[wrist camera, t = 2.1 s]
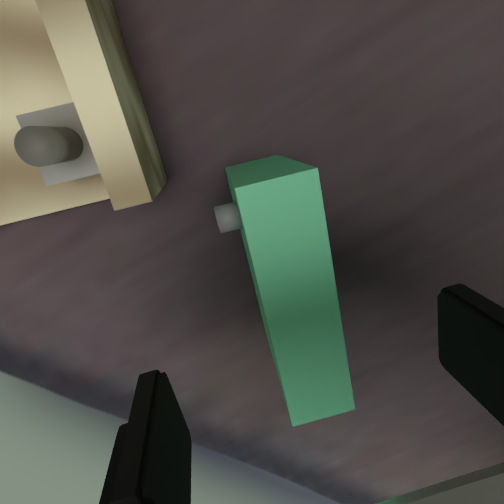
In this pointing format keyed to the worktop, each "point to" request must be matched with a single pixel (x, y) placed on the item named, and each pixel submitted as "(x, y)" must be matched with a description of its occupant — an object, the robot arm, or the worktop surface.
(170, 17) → the worktop surface
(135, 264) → the worktop surface
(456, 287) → the robot arm
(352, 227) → the worktop surface
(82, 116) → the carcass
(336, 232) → the worktop surface
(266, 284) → the door
